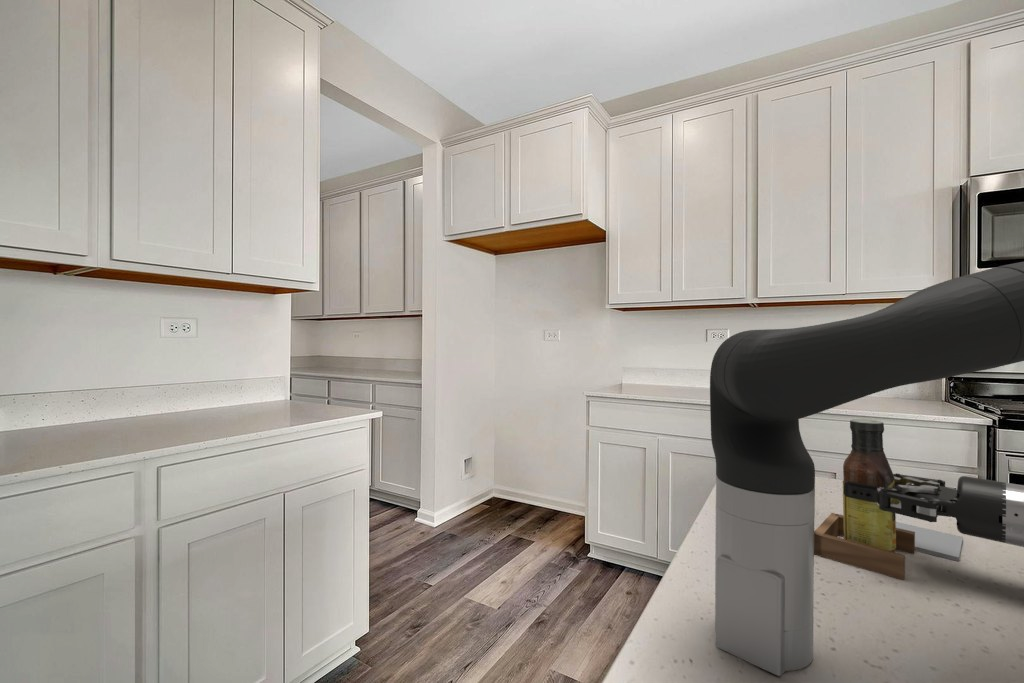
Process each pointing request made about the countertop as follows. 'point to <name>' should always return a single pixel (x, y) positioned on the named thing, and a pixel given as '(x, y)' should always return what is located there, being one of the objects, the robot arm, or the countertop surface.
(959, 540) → the felt mat
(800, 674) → the countertop surface
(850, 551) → the walnut cradle
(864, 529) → the sauce bottle
